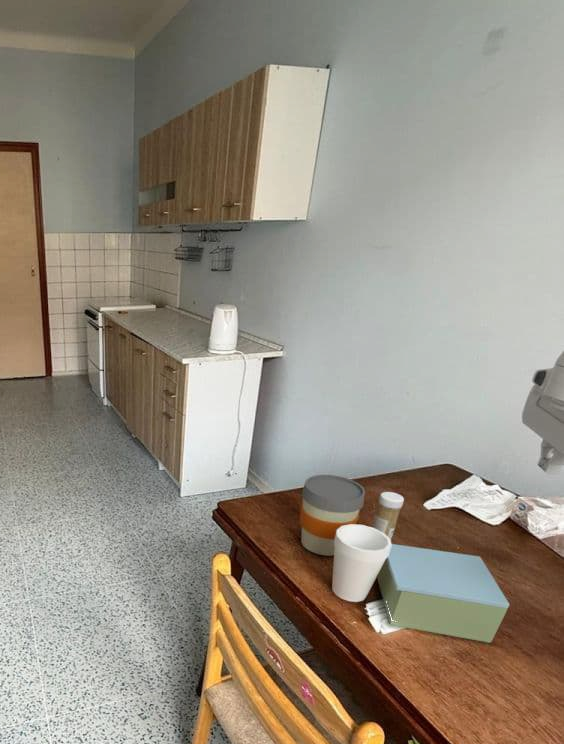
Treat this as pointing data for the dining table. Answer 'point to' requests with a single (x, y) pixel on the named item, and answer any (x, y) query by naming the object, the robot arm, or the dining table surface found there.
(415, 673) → the dining table surface
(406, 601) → the display box
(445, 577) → the hatch
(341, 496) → the reusable coffee cup
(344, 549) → the foam cup
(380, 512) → the sprinkles bottle
